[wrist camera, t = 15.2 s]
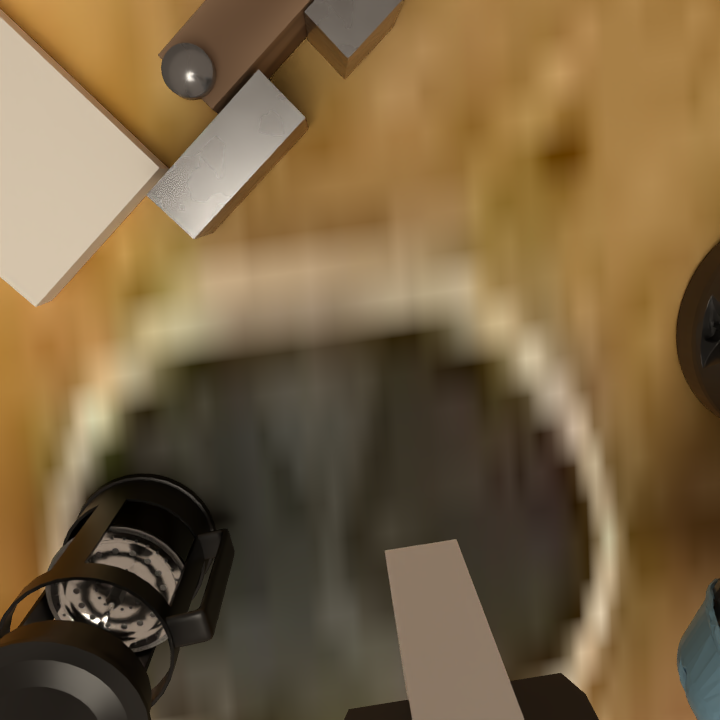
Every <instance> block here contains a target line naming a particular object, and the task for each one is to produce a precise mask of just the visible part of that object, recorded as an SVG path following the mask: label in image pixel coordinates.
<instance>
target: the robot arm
mask: <svg viewBox="0 0 720 720" xmlns="http://www.w3.org/2000/svg"><path fill="white" fill-rule="evenodd" d="M677 350H678V356H679V361H680V365H681V369H682V371H683V374H684V377H685V379H686V381H687V383H688V385H689V386H690V388H691V390H692V391H693V393H694V394H695V396H696V397H697V398H698V399H699V400H700V402H701V403H702V404H703V405H704V406H705V407H706V408H707V409H709V410H710V411H711V412H712V413H714V414H715V415H717V416H718V417H720V242H719V243H718V244H717V245H716V246H715V247H714V248H713V250H712V251H711V252H710V253H709V254H708V255H707V257H706V258H705V259H704V260H703V262H702V263H701V265H700V266H699V268H698V269H697V271H696V272H695V274H694V276H693V278H692V279H691V281H690V283H689V285H688V288H687V290H686V293H685V295H684V298H683V301H682V304H681V308H680V312H679V317H678V324H677ZM385 555H386V562H387V568H388V575H389V581H390V588H391V594H392V601H393V608H394V614H395V621H396V627H397V634H398V640H399V647H400V653H401V660H402V666H403V672H404V678H405V685H406V691H407V697H408V700H404V701H398V702H391V703H385V704H379V705H373V706H366V707H360V708H354V709H349V710H348V712H347V715H346V717H345V719H344V720H599V719H598V717H597V715H596V713H595V711H594V710H593V708H592V706H591V704H590V702H589V700H588V698H587V696H586V694H585V693H584V692H582V691H581V690H580V689H579V688H578V687H577V686H575V685H574V684H573V683H572V682H571V681H570V680H569V679H567V678H566V677H565V676H564V675H563V674H562V673H558V674H552V675H545V676H539V677H533V678H527V679H521V680H514V681H510V680H509V678H508V675H507V672H506V670H505V667H504V664H503V662H502V659H501V657H500V654H499V651H498V649H497V646H496V643H495V641H494V638H493V635H492V633H491V630H490V627H489V625H488V622H487V619H486V617H485V614H484V612H483V609H482V606H481V604H480V601H479V598H478V596H477V593H476V590H475V588H474V585H473V582H472V580H471V577H470V574H469V572H468V569H467V567H466V564H465V561H464V559H463V556H462V553H461V551H460V548H459V545H458V543H457V540H456V539H455V540H449V541H442V542H436V543H430V544H423V545H417V546H411V547H404V548H398V549H392V550H386V551H385ZM677 667H678V672H679V675H680V681H681V684H682V686H683V688H684V690H685V692H686V697H687V699H688V703H689V705H690V707H691V709H692V711H693V713H694V714H695V716H696V718H697V720H720V579H714V580H713V581H712V582H711V583H710V585H709V586H708V588H707V591H706V598H705V601H704V602H703V604H702V605H701V607H700V609H699V610H698V612H697V614H696V615H695V617H694V618H693V620H692V622H691V623H690V625H689V626H688V628H687V630H686V631H685V633H684V634H683V636H682V638H681V640H680V643H679V647H678V653H677Z"/></svg>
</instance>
